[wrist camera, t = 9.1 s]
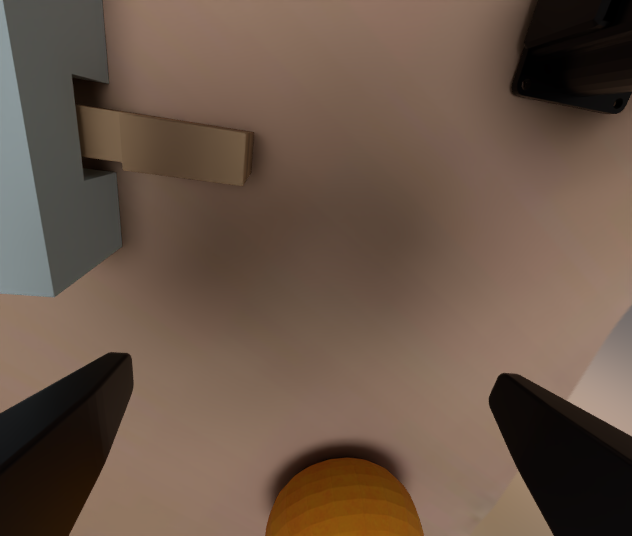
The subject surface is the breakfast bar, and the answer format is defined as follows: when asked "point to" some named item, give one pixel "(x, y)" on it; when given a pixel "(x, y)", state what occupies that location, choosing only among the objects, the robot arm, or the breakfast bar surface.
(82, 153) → the walnut u-shaped block
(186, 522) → the breakfast bar surface
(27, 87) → the blue-grey archway
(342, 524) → the fruit
